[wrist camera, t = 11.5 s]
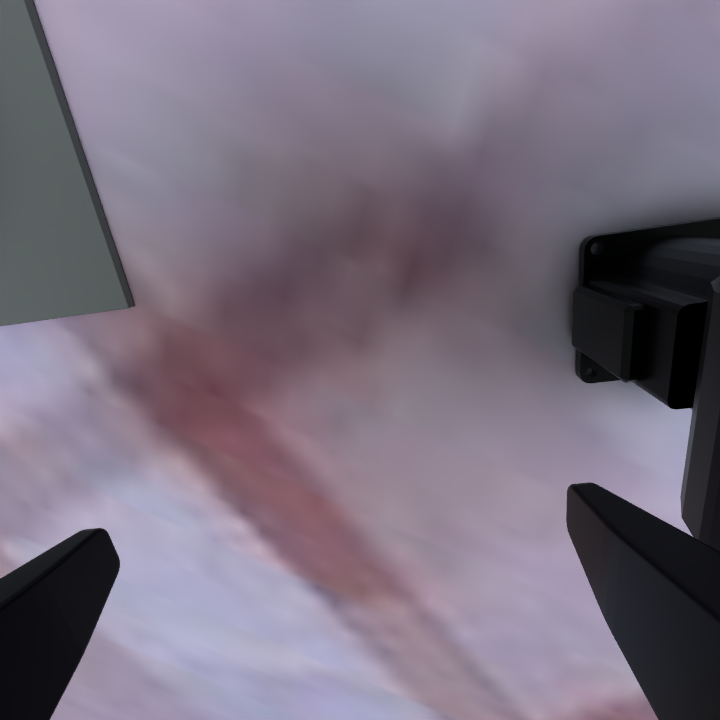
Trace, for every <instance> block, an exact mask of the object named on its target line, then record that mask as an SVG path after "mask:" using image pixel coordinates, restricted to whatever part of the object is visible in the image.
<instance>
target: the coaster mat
mask: <svg viewBox="0 0 720 720" xmlns="http://www.w3.org/2000/svg"><path fill="white" fill-rule="evenodd" d="M133 306H135V305H134V302H133V299H132V296H131V293H130V290H129V287H128V284H127V281H126V278H125V275H124V272H123V269H122V266H121V263H120V260H119V257H118V254H117V251H116V248H115V245H114V242H113V239H112V236H111V233H110V230H109V227H108V224H107V221H106V218H105V215H104V212H103V209H102V206H101V203H100V200H99V197H98V194H97V191H96V188H95V185H94V182H93V179H92V176H91V173H90V170H89V167H88V164H87V161H86V158H85V155H84V152H83V149H82V147H81V144H80V141H79V138H78V135H77V132H76V129H75V126H74V123H73V120H72V117H71V114H70V111H69V108H68V105H67V102H66V99H65V96H64V93H63V90H62V87H61V84H60V81H59V78H58V75H57V72H56V69H55V66H54V63H53V60H52V57H51V54H50V51H49V48H48V45H47V42H46V39H45V36H44V33H43V30H42V27H41V24H40V21H39V18H38V15H37V12H36V9H35V6H34V3H33V0H0V326H5V325H12V324H20V323H27V322H34V321H41V320H48V319H55V318H62V317H69V316H76V315H83V314H90V313H98V312H105V311H112V310H119V309H126V308H130V307H133Z"/></svg>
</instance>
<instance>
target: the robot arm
mask: <svg viewBox="0 0 720 720" xmlns="http://www.w3.org/2000/svg"><path fill="white" fill-rule="evenodd" d="M596 242H597V243H598V245H599V248H598V251H597V252H596V253H594V254H592V253H591V246H592V245H593V244H594V243H596ZM572 345H573V346H574V347H575V348H577V355H576V374H577V376H578V377H579V378H580V379H581V380H582V381H584V382H586V383H598V382H607V381H616V380H622V381H623V382H633V383H635V384H636V385H638V386H639V387H641V388H642V389H644V390H645V391H646V392H648V393H649V394H651V395H652V396H654V397H655V398H657V399H658V400H660V401H661V402H663V403H664V404H666V405H667V406H668V407H670V408H671V409H684V408H691V409H692V410H693V411H692V418H691V426H690V433H689V440H688V447H687V454H686V461H685V468H684V475H683V483H682V490H681V513H682V519H683V520H684V522H685V524H686V525H687V527H688V529H689V530H690V532H691V534H692V535H693V537H692V536H690V535H688V534H687V533H685V532H683V531H681V530H679V529H677V528H676V527H674V526H672V525H670V524H668V523H666V522H665V521H663V520H661V519H659V518H657V517H655V516H654V515H652V514H650V513H648V512H646V511H644V510H643V509H641V508H639V507H637V506H635V505H633V504H632V503H630V502H628V501H626V500H624V499H622V498H621V497H619V496H617V495H615V494H613V493H611V492H610V491H608V490H606V489H604V488H602V487H600V486H599V485H597V484H594V483H579V484H571V485H570V486H569V487H568V490H567V516H566V522H567V528H568V532H569V535H570V537H571V540H572V542H573V545H574V547H575V549H576V552H577V554H578V557H579V559H580V561H581V564H582V566H583V569H584V571H585V573H586V576H587V578H588V581H589V583H590V585H591V588H592V590H593V593H594V595H595V598H596V600H597V602H598V605H599V607H600V609H601V612H602V614H603V616H604V618H605V620H606V622H607V624H608V626H609V628H610V630H611V632H612V634H613V636H614V638H615V640H616V642H617V644H618V645H619V647H620V649H621V651H622V653H623V655H624V657H625V658H626V660H627V662H628V664H629V666H630V668H631V670H632V671H633V673H634V675H635V677H636V679H637V681H638V683H639V684H640V686H641V688H642V690H643V692H644V694H645V696H646V698H647V699H648V701H649V703H650V705H651V707H652V709H653V711H654V712H655V714H656V716H657V718H658V720H720V217H718V218H711V219H704V220H697V221H690V222H683V223H676V224H669V225H662V226H655V227H648V228H641V229H634V230H627V231H620V232H613V233H606V234H599V235H592V236H589V237H587V238H586V239H585V240H584V241H583V242H582V244H581V247H580V262H579V286H578V287H577V288H576V289H575V290H574V293H573V327H572ZM590 368H593V371H592V373H591V374H589V375H586V371H587V370H588V369H590ZM119 568H120V560H119V557H118V554H117V552H116V550H115V547H114V545H113V543H112V541H111V538H110V536H109V534H108V532H107V531H106V530H105V529H102V528H96V529H86V530H82V531H79V532H78V533H76V534H74V535H73V536H71V537H69V538H68V539H66V540H64V541H63V542H61V543H59V544H58V545H56V546H54V547H52V548H51V549H49V550H47V551H46V552H44V553H42V554H41V555H39V556H37V557H36V558H34V559H32V560H31V561H29V562H27V563H26V564H24V565H22V566H21V567H19V568H17V569H16V570H14V571H12V572H11V573H9V574H7V575H6V576H4V577H2V578H1V579H0V720H50V718H51V716H52V714H53V713H54V711H55V709H56V707H57V705H58V703H59V701H60V699H61V697H62V695H63V693H64V691H65V689H66V688H67V686H68V684H69V682H70V680H71V678H72V676H73V674H74V672H75V670H76V668H77V666H78V664H79V662H80V660H81V658H82V656H83V654H84V652H85V650H86V648H87V645H88V643H89V641H90V639H91V636H92V634H93V631H94V629H95V627H96V624H97V622H98V620H99V617H100V615H101V612H102V610H103V608H104V605H105V603H106V601H107V598H108V596H109V594H110V591H111V589H112V586H113V584H114V582H115V579H116V577H117V575H118V572H119Z"/></svg>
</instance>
